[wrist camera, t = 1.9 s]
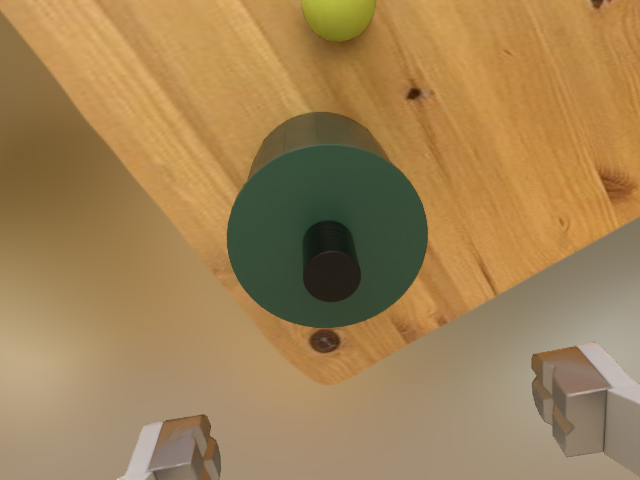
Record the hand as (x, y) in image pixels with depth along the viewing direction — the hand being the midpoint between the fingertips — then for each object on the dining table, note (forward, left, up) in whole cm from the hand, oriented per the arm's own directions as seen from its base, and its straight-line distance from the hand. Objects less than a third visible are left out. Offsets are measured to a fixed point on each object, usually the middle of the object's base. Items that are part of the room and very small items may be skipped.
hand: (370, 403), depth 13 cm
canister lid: (+1, +4, -20) cm, 21 cm away
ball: (-4, -9, -30) cm, 31 cm away
